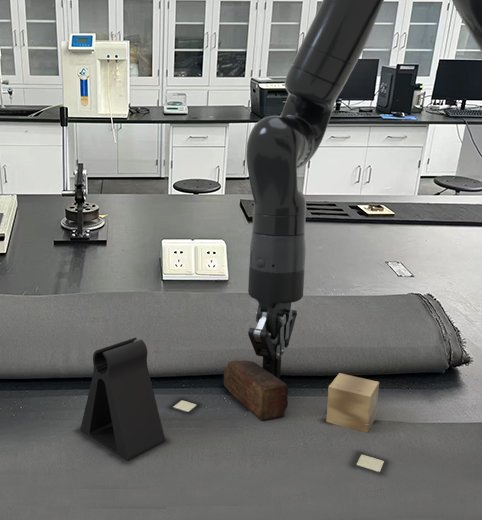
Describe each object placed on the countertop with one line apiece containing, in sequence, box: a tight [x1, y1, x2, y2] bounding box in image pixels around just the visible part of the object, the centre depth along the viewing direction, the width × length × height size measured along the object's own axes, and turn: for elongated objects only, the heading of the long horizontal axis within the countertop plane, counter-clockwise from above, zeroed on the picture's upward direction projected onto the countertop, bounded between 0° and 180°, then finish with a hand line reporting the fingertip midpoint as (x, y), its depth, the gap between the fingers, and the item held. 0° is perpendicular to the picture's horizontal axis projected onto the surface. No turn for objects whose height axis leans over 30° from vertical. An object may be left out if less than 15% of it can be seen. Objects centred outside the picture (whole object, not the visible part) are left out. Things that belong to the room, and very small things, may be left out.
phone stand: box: [79, 337, 166, 462], centre depth 64 cm, size 9×6×12 cm, turn 42°
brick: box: [223, 359, 289, 422], centre depth 73 cm, size 11×4×5 cm, turn 19°
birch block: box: [325, 372, 380, 434], centre depth 68 cm, size 5×5×5 cm
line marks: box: [172, 399, 385, 473], centre depth 66 cm, size 26×2×1 cm, turn 55°
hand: (271, 379), depth 78 cm, fingers closed
